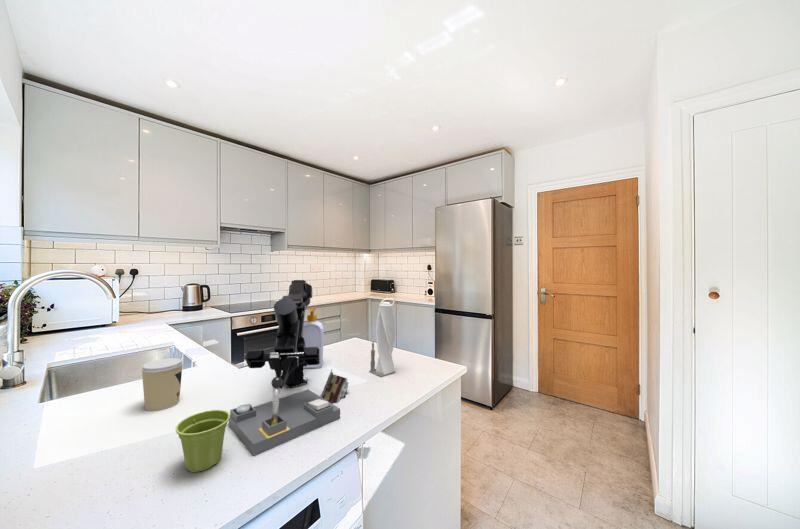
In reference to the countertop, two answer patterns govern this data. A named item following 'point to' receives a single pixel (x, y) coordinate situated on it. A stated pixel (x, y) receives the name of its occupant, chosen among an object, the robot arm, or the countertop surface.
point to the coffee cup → (162, 383)
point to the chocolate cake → (334, 388)
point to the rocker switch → (318, 404)
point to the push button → (243, 409)
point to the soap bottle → (313, 335)
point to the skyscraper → (384, 340)
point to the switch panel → (280, 421)
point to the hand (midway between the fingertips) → (280, 388)
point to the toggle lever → (276, 399)
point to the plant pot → (202, 438)
